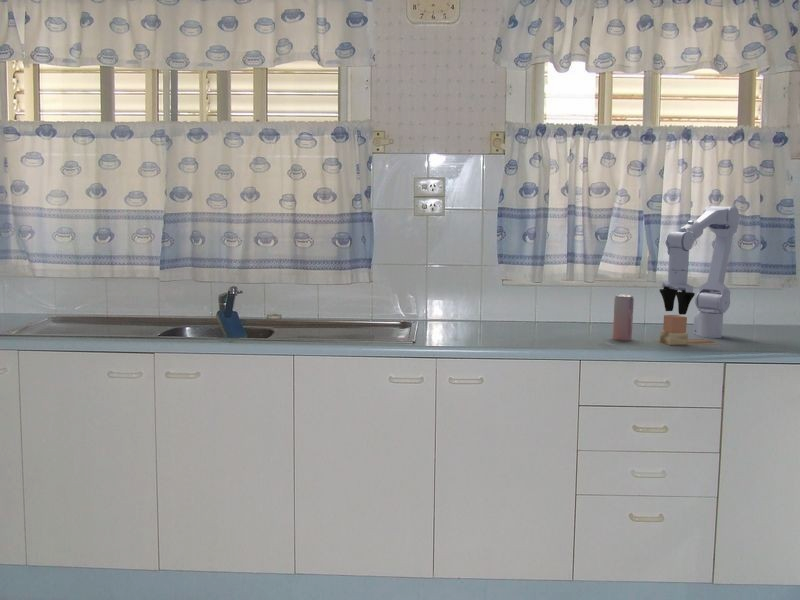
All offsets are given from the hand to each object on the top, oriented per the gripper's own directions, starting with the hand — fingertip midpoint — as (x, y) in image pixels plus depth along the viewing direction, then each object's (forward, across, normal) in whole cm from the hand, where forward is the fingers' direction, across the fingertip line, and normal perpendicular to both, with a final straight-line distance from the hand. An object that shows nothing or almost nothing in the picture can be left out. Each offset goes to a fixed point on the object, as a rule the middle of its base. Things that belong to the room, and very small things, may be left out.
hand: (675, 312), depth 262 cm
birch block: (+10, 0, 0) cm, 10 cm away
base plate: (+10, 0, +4) cm, 11 cm away
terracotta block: (+6, 0, 0) cm, 6 cm away
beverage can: (+10, -9, -13) cm, 19 cm away
